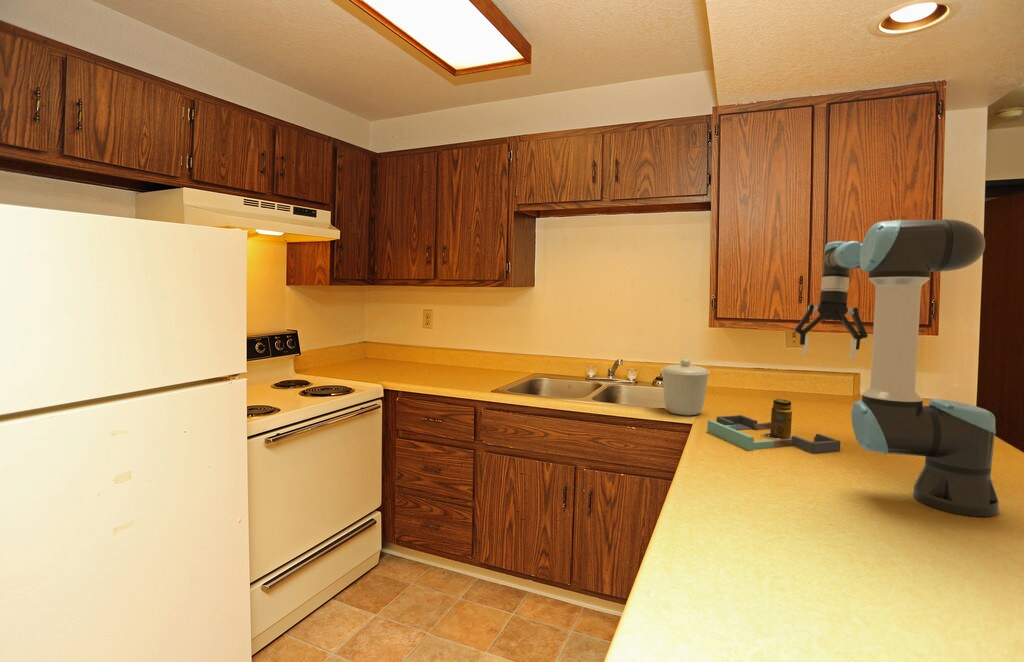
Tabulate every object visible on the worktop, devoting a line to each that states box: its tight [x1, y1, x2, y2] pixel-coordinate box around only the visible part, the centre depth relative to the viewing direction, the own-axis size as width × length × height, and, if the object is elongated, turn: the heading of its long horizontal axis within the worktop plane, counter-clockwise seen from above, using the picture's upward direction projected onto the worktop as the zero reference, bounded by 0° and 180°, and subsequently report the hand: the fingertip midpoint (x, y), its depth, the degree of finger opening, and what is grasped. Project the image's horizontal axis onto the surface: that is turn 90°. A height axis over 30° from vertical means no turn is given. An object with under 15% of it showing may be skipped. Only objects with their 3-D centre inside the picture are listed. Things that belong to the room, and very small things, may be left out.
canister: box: [660, 358, 711, 416], centre depth 206 cm, size 18×18×21 cm
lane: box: [752, 421, 817, 448], centre depth 175 cm, size 20×19×2 cm
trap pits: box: [715, 414, 841, 454], centre depth 175 cm, size 18×34×3 cm, turn 15°
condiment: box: [761, 398, 793, 440], centre depth 175 cm, size 7×8×12 cm
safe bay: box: [706, 419, 774, 451], centre depth 171 cm, size 10×20×4 cm, turn 15°
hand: (827, 357), depth 170 cm, fingers open, 13 cm apart
